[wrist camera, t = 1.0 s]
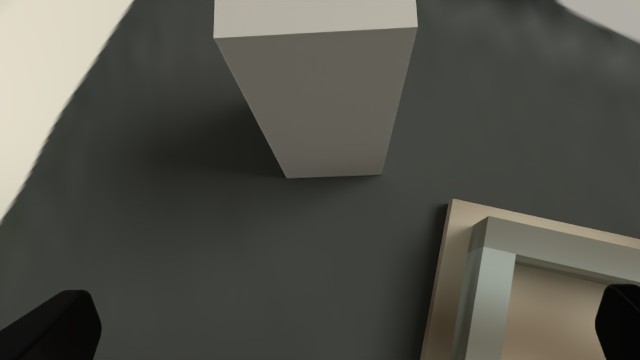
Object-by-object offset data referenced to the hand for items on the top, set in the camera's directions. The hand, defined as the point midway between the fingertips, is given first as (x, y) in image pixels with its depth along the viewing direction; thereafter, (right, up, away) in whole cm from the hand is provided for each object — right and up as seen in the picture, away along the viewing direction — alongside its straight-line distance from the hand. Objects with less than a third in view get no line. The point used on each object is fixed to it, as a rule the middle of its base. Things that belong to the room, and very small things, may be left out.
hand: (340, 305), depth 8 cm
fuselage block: (0, +5, +15) cm, 15 cm away
